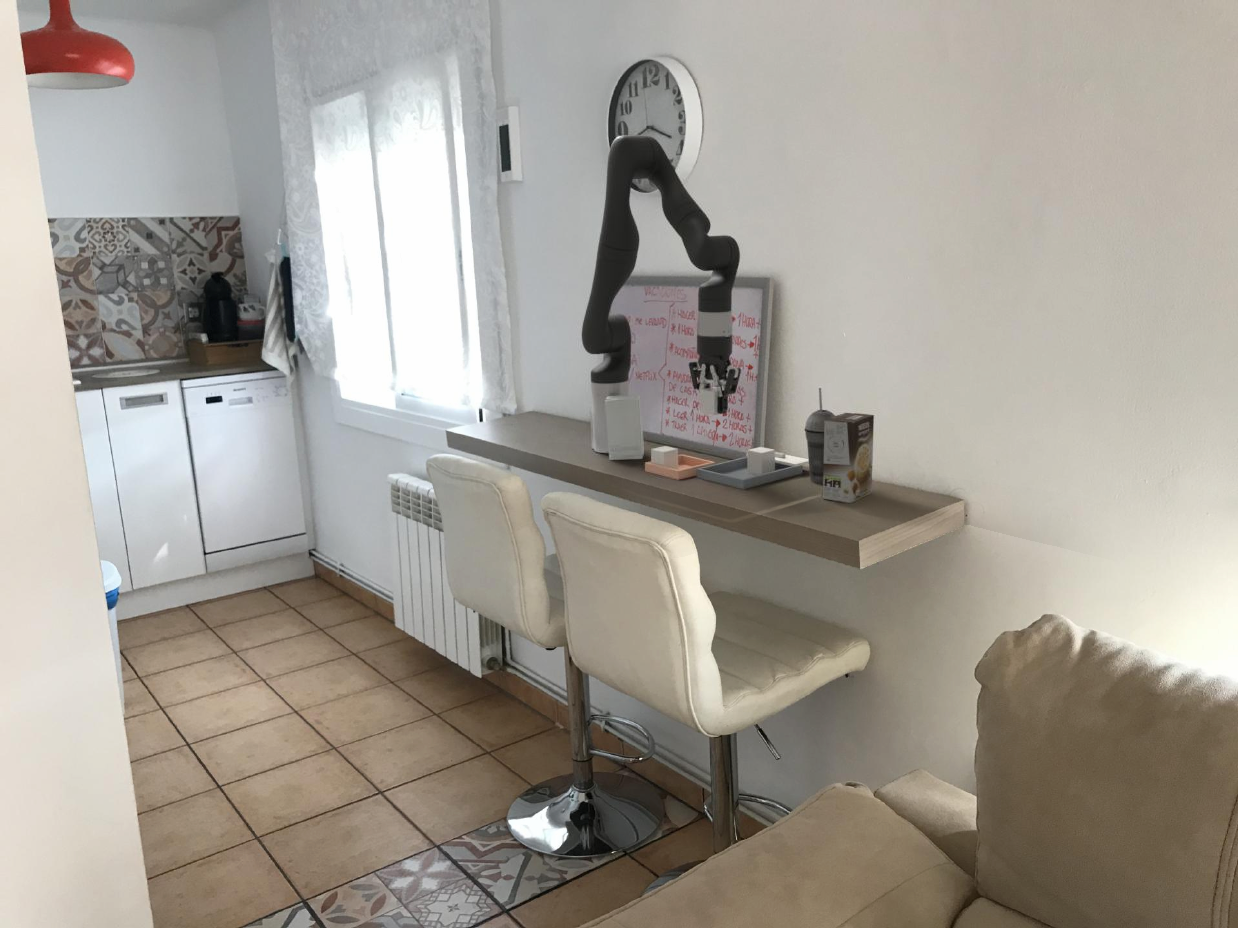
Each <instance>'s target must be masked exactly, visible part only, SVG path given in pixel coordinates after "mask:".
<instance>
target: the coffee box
mask: <svg viewBox="0 0 1238 928" xmlns="http://www.w3.org/2000/svg"><path fill="white" fill-rule="evenodd" d="M874 419H875V415H874V414H866V413H856V412H855V413H851V412H844V413H840V414H837V415H835V416H834V417H831V418H827V419H824V471H823V474H824V475H823V484H822V499H823V500H829V501H830V500H831V501H835V502H842V503H847V504H851V503H854V502H856V501H858V500H861V499H863V498H865V497H866V496H868V495H870V494H872V492H873V490H872V488H873V458H874V454H873V453H874V422H875V420H874Z"/></svg>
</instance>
